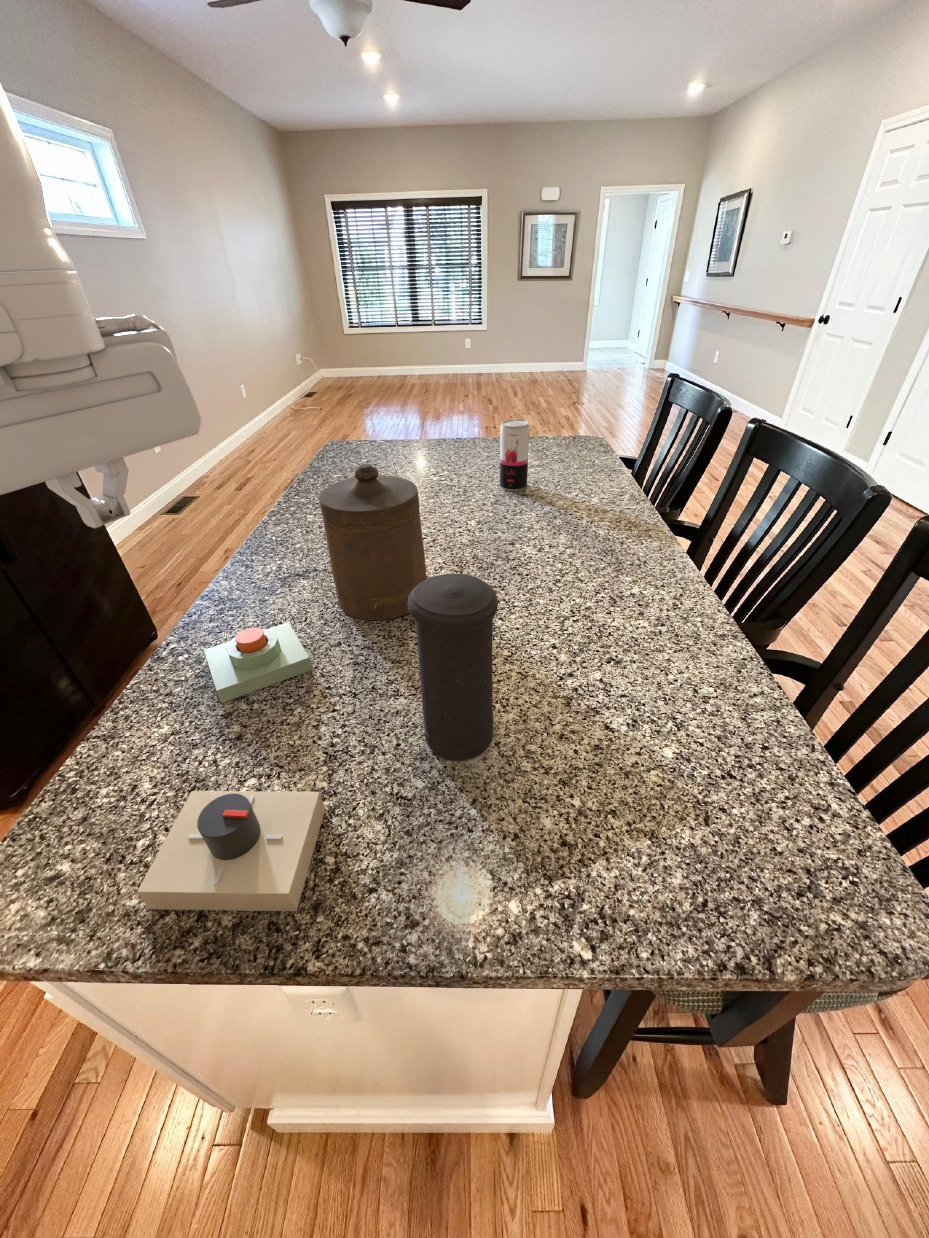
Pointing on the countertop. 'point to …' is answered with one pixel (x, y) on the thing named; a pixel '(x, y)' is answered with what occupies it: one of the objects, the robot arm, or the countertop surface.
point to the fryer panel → (244, 882)
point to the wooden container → (374, 542)
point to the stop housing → (257, 663)
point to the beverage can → (514, 454)
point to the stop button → (251, 640)
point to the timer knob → (229, 826)
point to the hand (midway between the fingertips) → (109, 520)
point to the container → (455, 662)
